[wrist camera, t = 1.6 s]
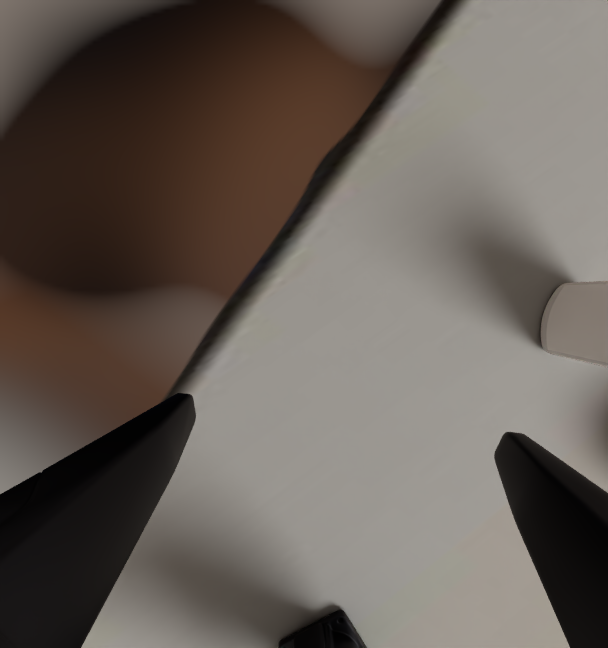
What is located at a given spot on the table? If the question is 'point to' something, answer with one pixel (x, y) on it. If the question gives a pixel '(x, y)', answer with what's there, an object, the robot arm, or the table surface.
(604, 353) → the eye dropper bottle
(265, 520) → the table surface
